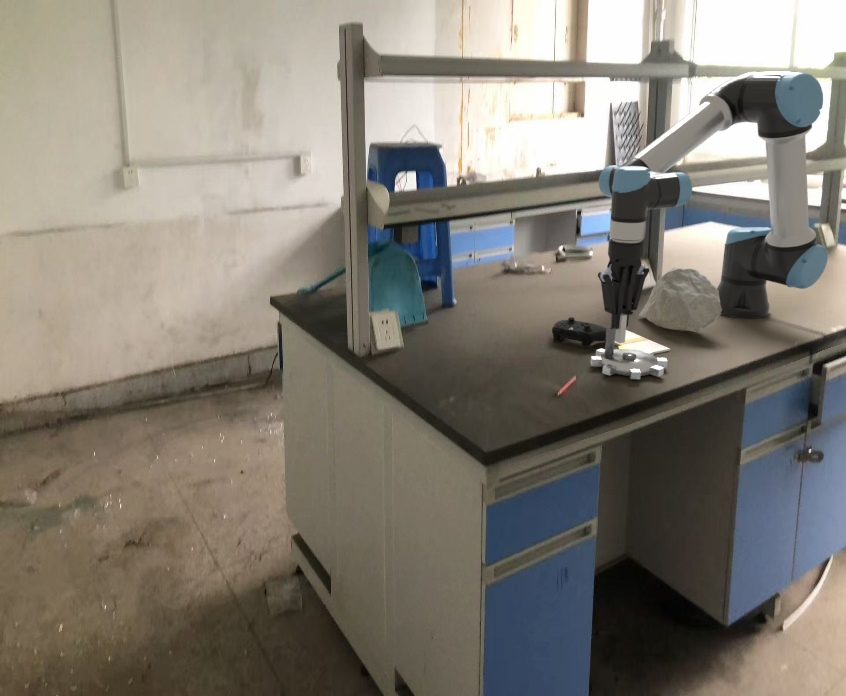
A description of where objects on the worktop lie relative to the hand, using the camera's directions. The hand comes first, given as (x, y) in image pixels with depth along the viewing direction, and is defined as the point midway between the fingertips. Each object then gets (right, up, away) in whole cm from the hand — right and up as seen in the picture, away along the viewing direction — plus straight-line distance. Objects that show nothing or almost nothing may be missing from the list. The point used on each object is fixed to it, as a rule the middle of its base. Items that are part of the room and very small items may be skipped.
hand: (618, 340), depth 181 cm
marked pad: (+6, 0, +13) cm, 14 cm away
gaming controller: (-7, 0, +14) cm, 16 cm away
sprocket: (+1, -6, -3) cm, 7 cm away
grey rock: (+21, +3, +24) cm, 32 cm away
